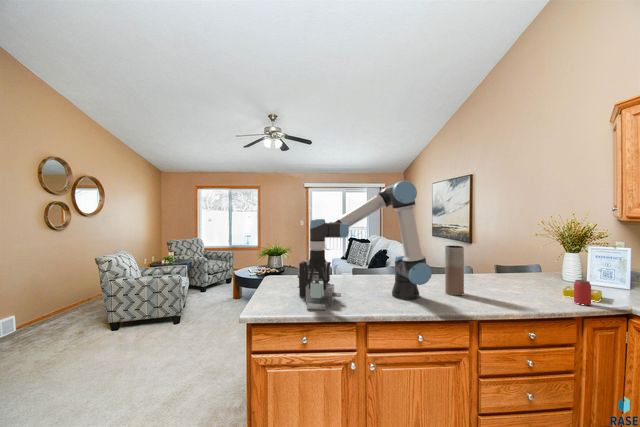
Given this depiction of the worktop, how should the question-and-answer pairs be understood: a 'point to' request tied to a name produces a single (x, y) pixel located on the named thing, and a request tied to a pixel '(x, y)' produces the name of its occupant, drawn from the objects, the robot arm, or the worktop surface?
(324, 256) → the robot arm
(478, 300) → the worktop surface
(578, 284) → the beer can
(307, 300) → the motor
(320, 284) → the block
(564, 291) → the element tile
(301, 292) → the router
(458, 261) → the vase
